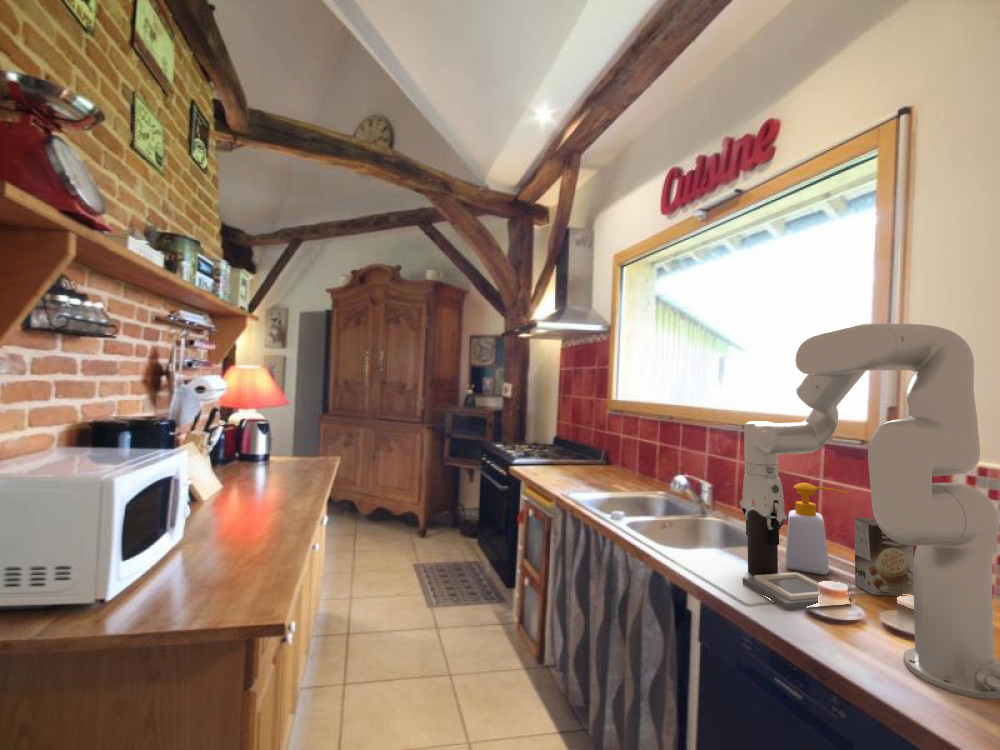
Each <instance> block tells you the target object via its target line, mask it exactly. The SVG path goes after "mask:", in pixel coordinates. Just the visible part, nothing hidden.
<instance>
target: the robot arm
mask: <svg viewBox="0 0 1000 750" xmlns="http://www.w3.org/2000/svg"><path fill="white" fill-rule="evenodd" d="M794 364H795V366H796V368H797V369H798V370H799V371H800V372H801V373H802V374H804V376H803V378H802V379H801V380H800V381H799V383H798V384H797V386H796V392H795V393H796V394H797V397H798V398H799V399H800V401H802V402H803V403H804V404H805V405H806V406H808V407H809V408H811V409H812V410H811V412H810V413H809V414H808V415H807V416H806V418H805V419H804V420H803V421H802V422H782V423H781V422H780V423H779V422H778V423H777V422H776V423H774V422H771V421H761V420H760V421H759V420H758V421H757V420H756V421H748V422H746V423H745V425H744V427H743V431H744V432H743V435H744V436H743V439H744V441H743V442H744V443H743V444H744V476H743V483H742V498H741V499H740V500H739V505H740V507H741V509H742V513H743V514H744V516H743V518H744V520H745V535H746V536H747V513H748V512H749V511H750V510H755V511H757V512H758V513H759V514H760V515H761V516H763V517H765V519H766V523H767V526H768V529H766V544H767V545H778V546H779V545H780V530H781V529H782V526H784V524H785V522H786V521H788V516H787V515H786V514H785V513H786V512H785V497H784V489H783V485H782V481H781V477H779V460H778V459H779V456H782V455H783V456H785V455H809V454H812V453H815V452H816V451H819V450H820V449H821V448H822V447H823V446H824V445H825V444H826V443H827V442H828V440H829V439H830V438H831V437H832V436H833V435H834V433H835V432H836V430H837V427H838V423H839V411H838V408H837V407H838V405H839V404H840V403H841V402H842V401H843V399H844V398H845V397H846V395H847V394H848V393H849V392H850V390H852V389H853V387H854V386H855V385H856V384H857V383H858V381H859V380H860V378H862V376H863V375H864V374H865V373H866V371H867V372H868V371H870V372H871V371H892V372H893V371H911V372H913V373H914V375H913V377H912V379H911V380H910V381H909V382H910V383H909V385H908V389H907V391H906V392H907V393H906V401H907V402H906V403H907V418H898V419H893V420H889V421H886V422H883V423H882V424H881V425H879V426H878V427H877V428H876V429H875V430H874V431H873V432H872V434H871V436H870V440H869V442H868V446H867V463H868V473H869V487H870V488H869V489H870V500H871V507H872V508H871V509H872V512H873V517H874V518H873V519H875V520H876V522H877V524H878V526H879V528H880V529H881V530H882V532H883V533H884V534H885V535H886V536H887V537H889V538H890V539H892V540H893V541H895V542H898V543H900V544H904V545H911V546H913V547H914V546H915V550H914V554H913V579H914V596H913V609H914V610H913V615H914V616H913V619H914V621H913V622H914V648H910V649H906V650H905V651H904V652H903V662H904V665H905V666H906V667H907V669H908V670H910V671H911V672H912V673H913V674H914V675H916V676H917V677H919V678H921V679H922V680H924V681H927V682H928V683H930V684H931V685H934V686H935V687H936V686H937V687H939V688H942V689H945V690H946V691H949V692H953V693H957V694H959V695H963V696H967V697H972V698H978V699H985V700H997V699H1000V661H998V660H996V659H995V653H994V651H995V650H994V649H995V648H994V647H995V646H994V644H995V643H994V614H993V613H994V612H993V560H994V559H993V558H994V551H995V546H996V542H997V538H998V533H999V526H1000V522H999V520H1000V519H999V517H1000V516H999V513H998V511H997V508H996V506H995V504H994V503H993V502H992V500H991V499H990V498H989V497H988V496H987V495H986V494H985V493H983V492H982V491H980V490H978V489H976V488H974V487H972V486H970V485H966V484H962V483H957V482H935V483H933V478H932V477H943V476H952V475H953V476H954V475H962V474H965V473H966V474H967V473H968V472H970V471H973V470H974V469H975V468H976V467H977V465H978V464H979V462H980V456H981V446H980V436H979V435H980V434H979V426H978V425H979V424H978V416H977V415H978V414H977V406H976V405H977V404H976V400H975V387H974V386H975V385H974V383H975V380H974V379H975V361H974V355H973V352H972V350H971V347H970V345H969V344H968V342H967V341H966V340H965V339H964V338H963V337H962V336H960V335H959V334H957V333H956V332H954V331H952V330H950V329H948V328H943V327H940V326H937V325H936V326H935V325H930V324H929V325H928V324H919V323H878V322H877V323H872V322H870V323H861V324H854V325H850V326H845V327H841V328H837V329H833V330H829V331H823V332H819V333H816V334H812V335H809V336H807V337H806V338H804V339H803V340H802V341H801V342H800V343H799V344H798V346H797V348H796V350H795V353H794ZM753 499H754V501H753ZM752 501H753V502H755V504H752ZM753 505H755V506H753ZM771 514H772V515H773V516H771ZM771 519H774V522H773V523H772V522H771Z"/></svg>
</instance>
